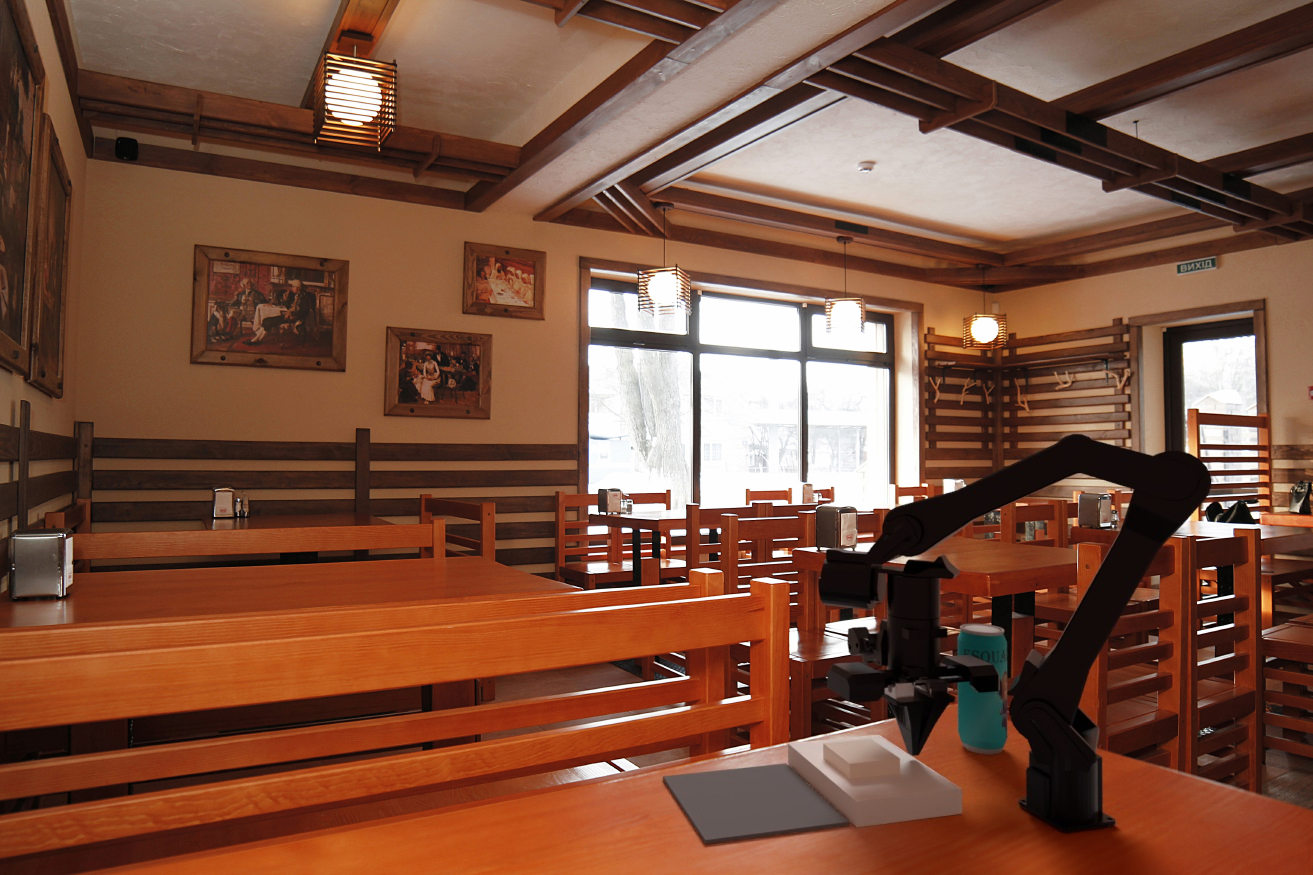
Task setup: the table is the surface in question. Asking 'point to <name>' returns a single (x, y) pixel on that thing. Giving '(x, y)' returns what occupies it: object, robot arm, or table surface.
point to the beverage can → (983, 711)
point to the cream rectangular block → (861, 758)
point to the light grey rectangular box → (877, 786)
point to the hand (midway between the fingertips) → (913, 754)
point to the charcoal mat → (751, 803)
